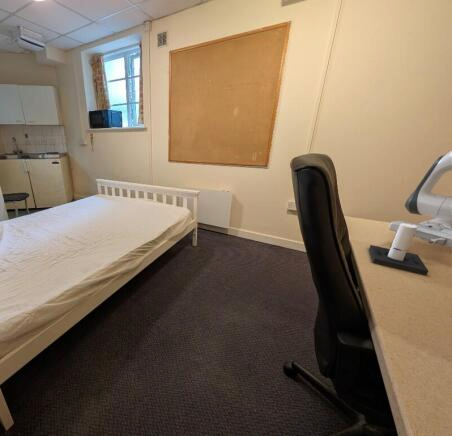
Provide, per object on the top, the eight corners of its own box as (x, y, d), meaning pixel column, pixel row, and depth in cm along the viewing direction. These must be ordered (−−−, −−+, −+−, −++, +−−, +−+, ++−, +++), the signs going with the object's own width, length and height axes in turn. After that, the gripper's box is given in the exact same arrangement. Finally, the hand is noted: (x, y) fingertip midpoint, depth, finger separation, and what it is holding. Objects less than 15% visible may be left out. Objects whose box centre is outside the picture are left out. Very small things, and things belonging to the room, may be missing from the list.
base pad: (415, 258, 87) (417, 254, 87) (426, 275, 77) (428, 270, 76) (368, 248, 95) (370, 244, 95) (372, 262, 85) (374, 258, 84)
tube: (396, 258, 88) (411, 223, 82) (404, 264, 84) (420, 228, 79) (383, 257, 89) (397, 222, 84) (390, 262, 85) (405, 227, 80)
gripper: (401, 216, 98) (383, 220, 94) (475, 233, 81) (458, 239, 76) (396, 228, 101) (378, 233, 96) (466, 248, 83) (450, 255, 78)
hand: (414, 236), depth 86 cm, fingers open, 8 cm apart
